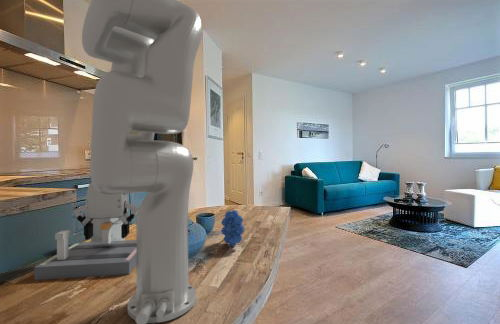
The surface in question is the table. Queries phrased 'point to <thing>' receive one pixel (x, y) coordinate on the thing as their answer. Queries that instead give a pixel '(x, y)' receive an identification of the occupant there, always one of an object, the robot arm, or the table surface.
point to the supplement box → (114, 229)
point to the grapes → (232, 227)
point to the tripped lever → (106, 234)
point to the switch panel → (87, 259)
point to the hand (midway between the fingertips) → (107, 237)
